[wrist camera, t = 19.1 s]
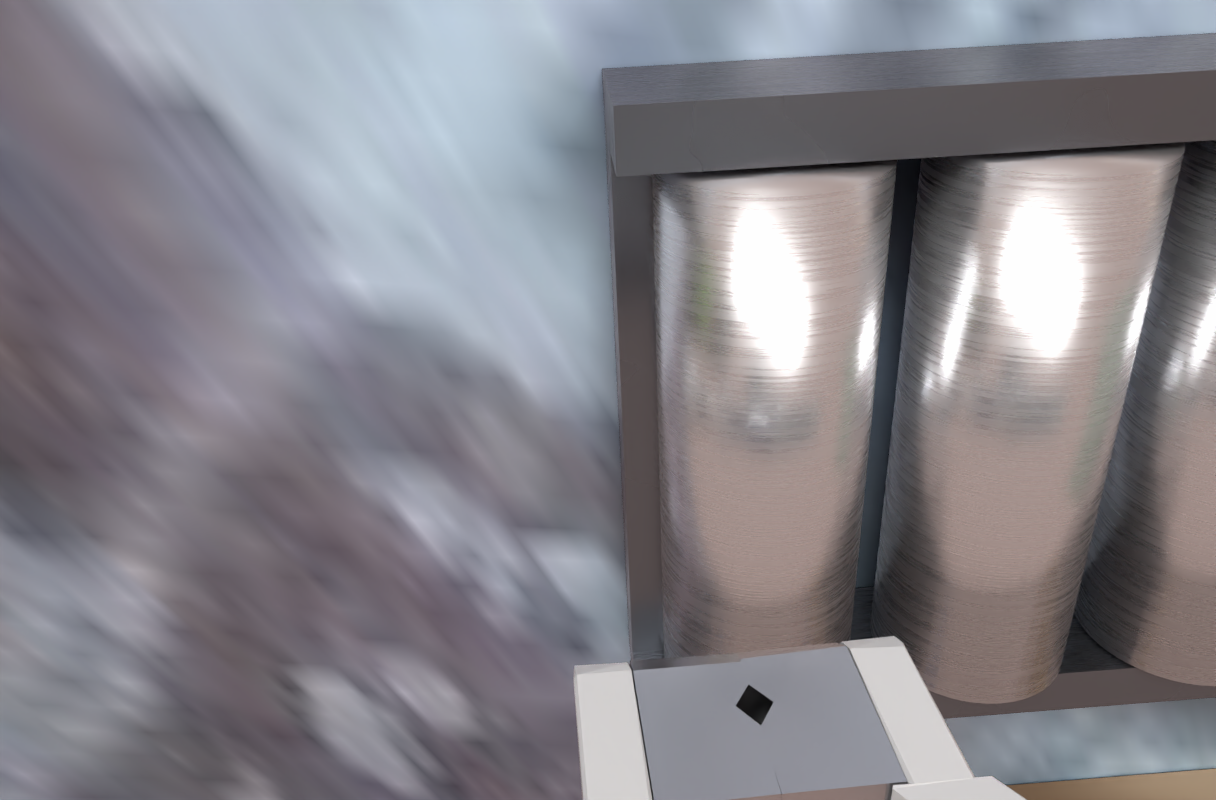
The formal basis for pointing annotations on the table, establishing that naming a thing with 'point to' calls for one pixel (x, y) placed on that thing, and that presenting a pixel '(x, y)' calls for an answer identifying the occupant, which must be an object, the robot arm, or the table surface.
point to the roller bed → (925, 362)
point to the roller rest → (1127, 787)
